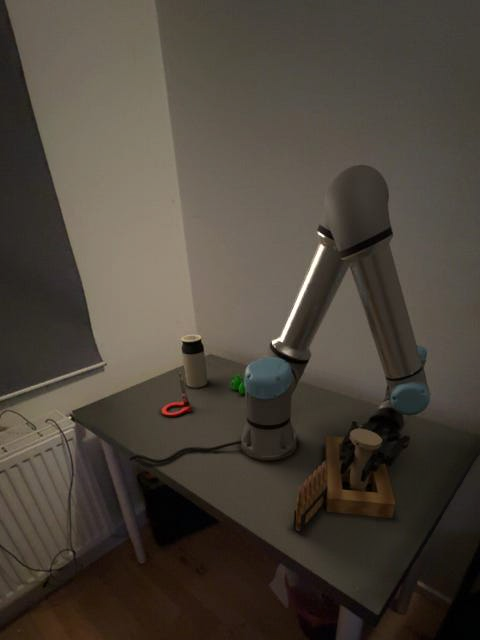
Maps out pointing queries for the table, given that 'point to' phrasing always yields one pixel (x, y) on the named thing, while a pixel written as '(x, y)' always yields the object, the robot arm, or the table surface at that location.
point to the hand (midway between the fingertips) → (352, 472)
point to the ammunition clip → (311, 498)
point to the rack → (356, 501)
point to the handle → (362, 455)
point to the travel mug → (194, 361)
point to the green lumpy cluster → (238, 384)
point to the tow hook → (184, 403)
